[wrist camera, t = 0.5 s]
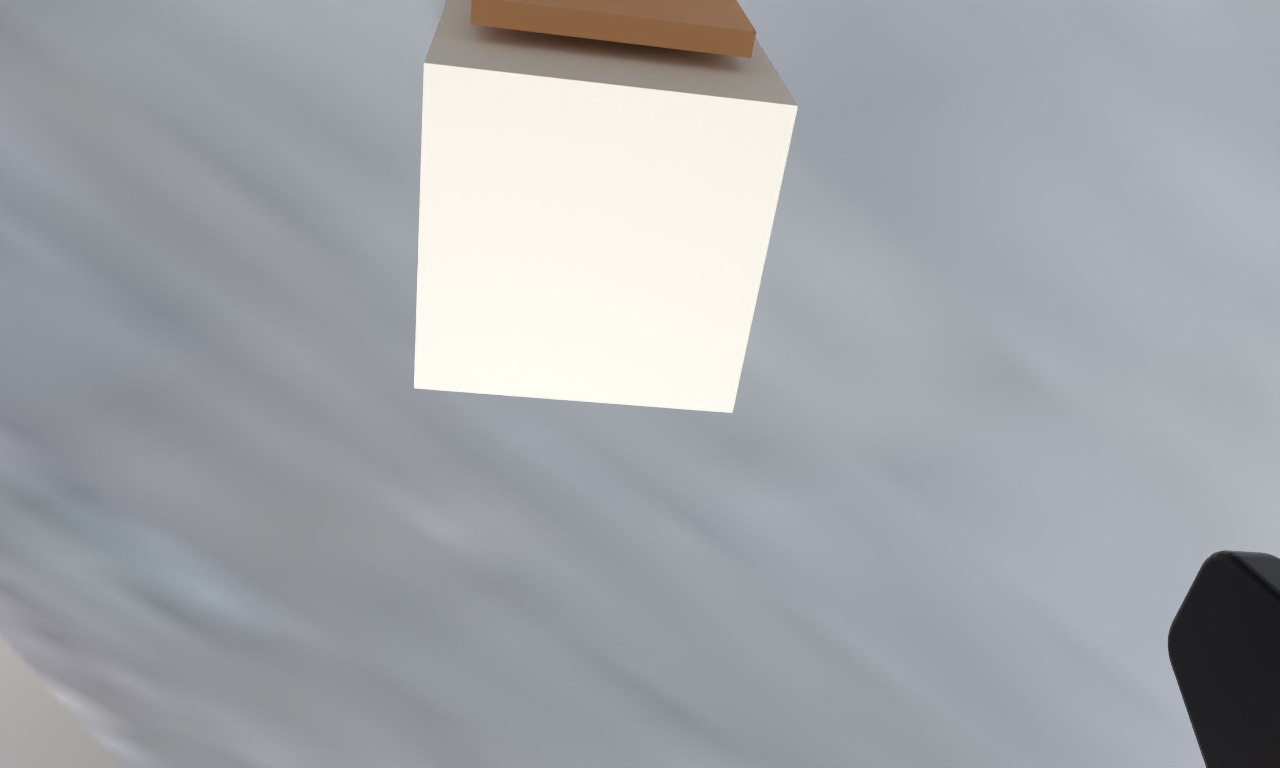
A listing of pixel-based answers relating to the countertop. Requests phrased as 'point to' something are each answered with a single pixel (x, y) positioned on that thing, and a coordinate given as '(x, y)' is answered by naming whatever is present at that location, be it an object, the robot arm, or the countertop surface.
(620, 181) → the pale upright block
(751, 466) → the countertop surface
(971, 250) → the countertop surface
